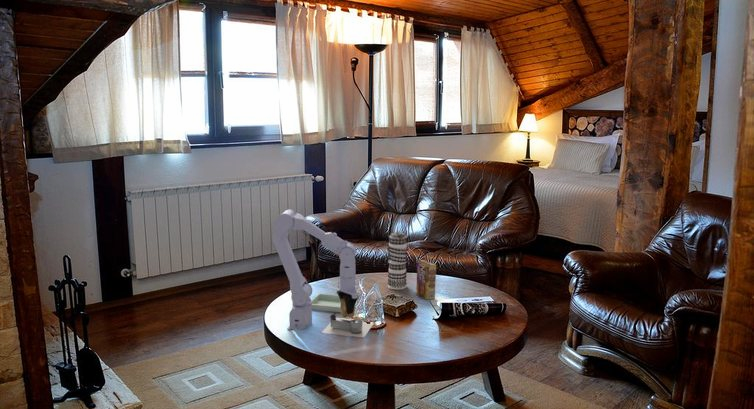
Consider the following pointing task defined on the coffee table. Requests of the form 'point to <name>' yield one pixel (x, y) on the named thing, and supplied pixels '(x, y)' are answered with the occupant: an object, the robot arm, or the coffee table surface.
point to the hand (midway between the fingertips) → (347, 311)
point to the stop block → (343, 310)
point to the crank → (346, 324)
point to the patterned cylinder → (397, 261)
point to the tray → (326, 302)
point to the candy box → (426, 279)
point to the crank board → (337, 331)
